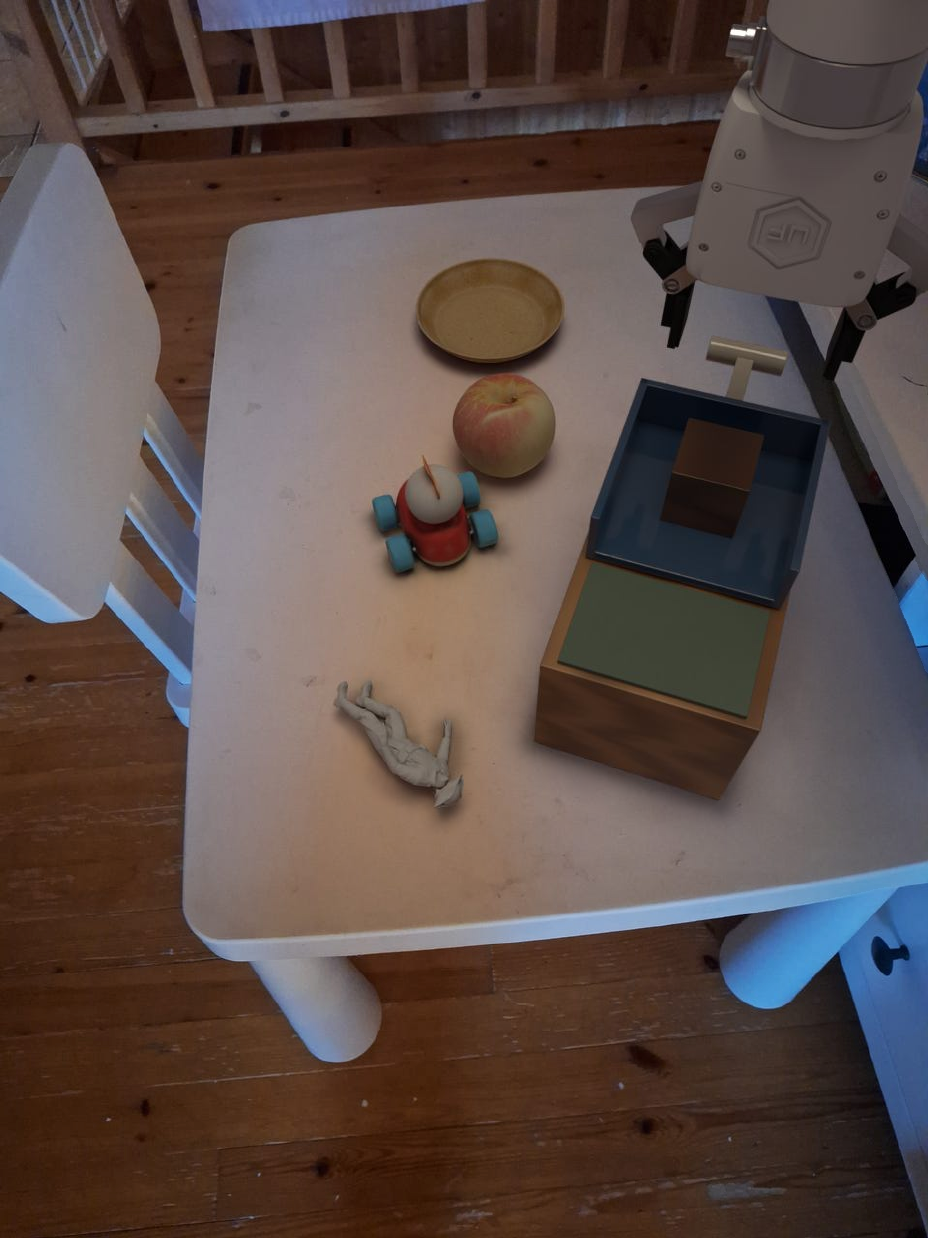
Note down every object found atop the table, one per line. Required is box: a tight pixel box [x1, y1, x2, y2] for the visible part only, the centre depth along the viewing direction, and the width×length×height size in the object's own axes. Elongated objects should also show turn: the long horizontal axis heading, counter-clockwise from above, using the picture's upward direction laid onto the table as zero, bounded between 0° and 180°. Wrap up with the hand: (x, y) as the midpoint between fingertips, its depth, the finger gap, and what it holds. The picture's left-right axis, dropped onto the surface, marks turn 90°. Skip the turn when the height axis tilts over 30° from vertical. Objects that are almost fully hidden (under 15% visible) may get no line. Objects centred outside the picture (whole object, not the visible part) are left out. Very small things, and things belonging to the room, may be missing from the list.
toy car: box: [371, 454, 499, 573], centre depth 74 cm, size 9×9×10 cm
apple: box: [452, 372, 557, 479], centre depth 79 cm, size 9×9×8 cm
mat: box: [557, 563, 770, 719], centre depth 58 cm, size 12×8×1 cm, turn 70°
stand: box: [533, 530, 791, 801], centre depth 67 cm, size 14×23×12 cm, turn 160°
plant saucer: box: [415, 257, 565, 364], centre depth 90 cm, size 15×15×3 cm
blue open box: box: [585, 335, 832, 609], centre depth 63 cm, size 13×19×5 cm
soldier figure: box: [333, 679, 465, 809], centre depth 66 cm, size 8×5×12 cm
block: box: [660, 418, 764, 539], centre depth 60 cm, size 5×5×5 cm
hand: (752, 349), depth 57 cm, fingers open, 9 cm apart
